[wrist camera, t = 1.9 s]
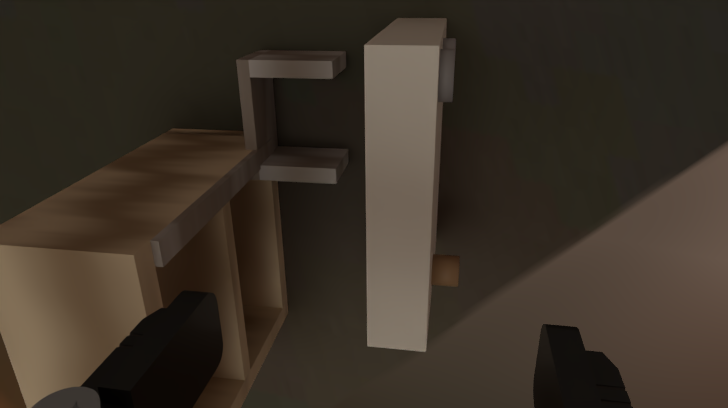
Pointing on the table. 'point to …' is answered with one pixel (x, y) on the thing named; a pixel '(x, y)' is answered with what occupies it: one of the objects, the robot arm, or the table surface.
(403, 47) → the door
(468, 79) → the table surface
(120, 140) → the table surface
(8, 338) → the cabinet
